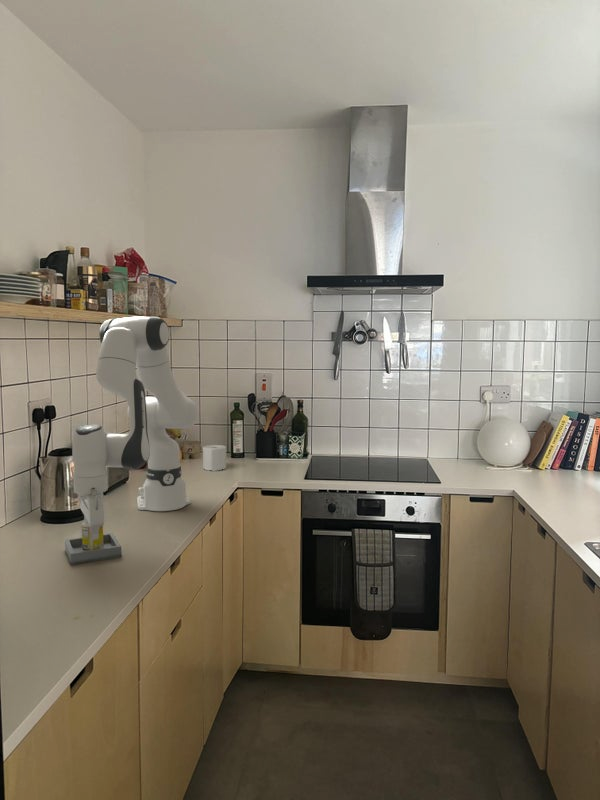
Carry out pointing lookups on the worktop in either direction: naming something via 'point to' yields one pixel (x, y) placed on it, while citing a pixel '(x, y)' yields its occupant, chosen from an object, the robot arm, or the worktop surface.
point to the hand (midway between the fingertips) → (92, 533)
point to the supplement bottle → (86, 537)
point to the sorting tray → (79, 556)
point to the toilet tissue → (214, 457)
